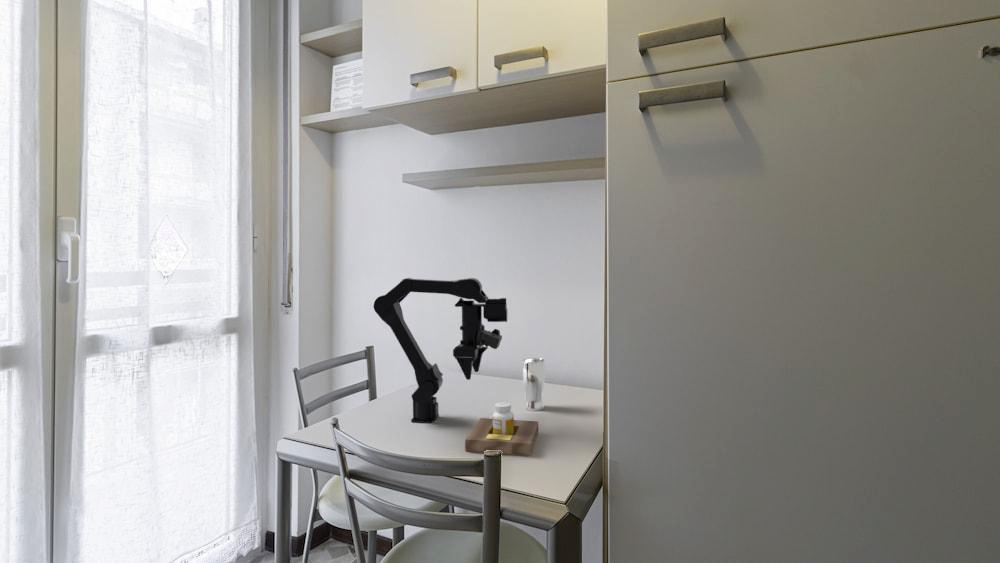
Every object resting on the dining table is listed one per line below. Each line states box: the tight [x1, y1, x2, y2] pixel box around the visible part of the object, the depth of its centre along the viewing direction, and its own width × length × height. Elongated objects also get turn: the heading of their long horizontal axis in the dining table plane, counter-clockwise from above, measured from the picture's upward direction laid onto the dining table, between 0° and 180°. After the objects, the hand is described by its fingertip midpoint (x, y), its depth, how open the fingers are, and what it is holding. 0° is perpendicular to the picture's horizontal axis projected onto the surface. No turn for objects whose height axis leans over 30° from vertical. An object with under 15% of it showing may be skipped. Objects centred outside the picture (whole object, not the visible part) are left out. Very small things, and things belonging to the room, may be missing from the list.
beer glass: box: [522, 357, 546, 412], centre depth 157 cm, size 7×7×15 cm
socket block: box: [464, 417, 540, 457], centre depth 129 cm, size 16×16×3 cm
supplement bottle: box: [492, 401, 515, 436], centre depth 129 cm, size 5×5×10 cm
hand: (472, 375), depth 146 cm, fingers open, 9 cm apart
